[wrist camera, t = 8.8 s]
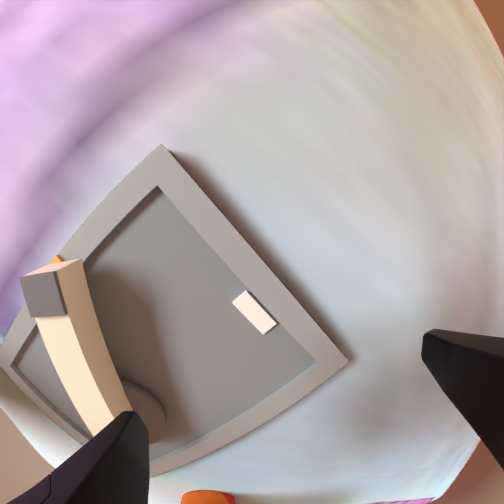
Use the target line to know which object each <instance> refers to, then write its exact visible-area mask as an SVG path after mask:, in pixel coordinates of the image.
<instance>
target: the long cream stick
mask: <svg viewBox="0 0 504 504" xmlns="http://www.w3.org/2000/svg"><path fill="white" fill-rule="evenodd" d="M19 279H20V283H21V286H22V290H23V294H24V297H25V300H26V304H27V307H28V310H29V313H30V316H31V318H32V317H35V320H36V323H37V325H38V328H39V331H40V333H41V336H42V339H43V341H44V344H45V346H46V349H47V351H48V353H49V356H50V358H51V360H52V363H53V365H54V367H55V369H56V371H57V373H58V375H59V377H60V379H61V382H62V383H63V385H64V387H65V389H66V391H67V393H68V395H69V397H70V399H71V400H72V402H73V404H74V406H75V408H76V409H77V411H78V413H79V414H80V416H81V418H82V419H83V421H84V423H85V424H86V426H87V427H88V429H89V430H90V432H91V433H92V435H93V436H95V435H96V434H98V433H99V432H100V431H101V430H102V429H103V428H104V427H106V426H107V425H108V424H109V423H110V422H111V421H112V420H114V419H115V418H116V417H117V416H118V415H119V414H120V413H121V412H123V411H136V412H137V413H138V414H139V416H140V417H141V419H142V421H143V422H144V424H145V425H146V427H147V429H148V431H149V445H151V444H154V443H156V442H158V441H159V440H160V439H161V438H162V437H163V435H164V432H165V427H166V421H167V417H166V412H165V410H164V408H163V406H162V404H161V403H160V402H159V401H158V399H157V398H156V397H155V396H154V395H152V394H151V393H150V392H149V391H147V390H146V389H144V388H143V387H141V386H139V385H137V384H135V383H133V382H130V381H127V380H124V379H119V377H118V375H117V372H116V370H115V367H114V365H113V362H112V360H111V357H110V355H109V352H108V349H107V347H106V344H105V341H104V338H103V335H102V332H101V329H100V326H99V323H98V320H97V317H96V314H95V310H94V307H93V303H92V300H91V296H90V293H89V289H88V285H87V281H86V277H85V273H84V269H83V264H82V259H75V260H69V261H64V262H58V263H53V264H48V265H46V266H44V267H42V268H39V269H37V270H35V271H33V272H31V273H29V274H26V275H24V276H22V277H20V278H19Z"/></svg>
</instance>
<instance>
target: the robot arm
mask: <svg viewBox="0 0 504 504" xmlns="http://www.w3.org/2000/svg"><path fill="white" fill-rule="evenodd" d="M421 356H422V360H423V362H424V363H425V365H426V366H427V368H428V369H429V371H430V372H431V374H432V375H433V377H434V378H435V380H436V381H437V383H438V384H439V386H440V387H441V389H442V390H443V392H444V393H445V394H446V395H447V397H448V398H449V399H450V400H451V402H452V403H453V404H454V405H455V407H456V408H457V409H458V410H459V412H460V413H461V414H462V415H463V417H464V418H465V419H466V420H467V422H468V423H469V424H470V426H471V427H472V428H473V429H474V431H475V432H476V433H477V435H478V436H479V437H480V439H481V440H482V441H483V443H484V444H485V445H486V447H487V448H488V449H489V451H490V452H491V454H492V455H493V456H494V458H495V459H496V461H497V462H498V463H499V465H500V466H501V468H502V469H503V471H504V338H501V337H492V336H484V335H476V334H468V333H461V332H454V331H447V330H440V329H432V330H430V331H428V332H426V333H425V334H424V336H423V343H422V352H421ZM149 479H150V461H149V431H148V429H147V427H146V425H145V424H144V422H143V421H142V419H141V417H140V416H139V414H138V413H137V412H136V411H123V412H121V413H120V414H119V415H118V416H117V417H116V418H115V419H114V420H112V421H111V422H110V423H109V424H108V425H107V426H106V427H104V428H103V429H102V430H101V431H100V432H99V433H98V434H96V435H95V436H94V437H93V438H92V439H91V440H89V441H88V442H87V443H86V444H85V445H84V446H82V447H81V448H80V449H79V450H78V451H77V452H75V453H74V454H73V455H72V456H71V457H69V458H68V459H67V460H66V461H65V462H64V463H62V464H61V465H60V466H59V467H57V468H56V469H55V470H54V471H53V472H51V474H49V475H48V476H46V477H45V478H44V479H43V480H42V481H40V482H39V483H38V484H36V485H35V486H34V487H32V488H31V489H29V490H28V491H26V492H25V493H23V494H22V495H20V496H18V497H17V498H15V499H13V500H12V501H10V502H8V503H7V504H148V491H149Z"/></svg>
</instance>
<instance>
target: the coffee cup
mask: <svg viewBox="0 0 504 504" xmlns="http://www.w3.org/2000/svg"><path fill="white" fill-rule="evenodd" d="M181 504H235V500H234V498H233V497H232V496H230V495H229V494H226V493H223V492H218V491H210V490H199V491H192V492H188V493H186V494H184V495H183V497H182V501H181Z"/></svg>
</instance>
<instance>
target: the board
mask: <svg viewBox="0 0 504 504" xmlns="http://www.w3.org/2000/svg"><path fill="white" fill-rule="evenodd" d="M75 259H82V264H83V269H84V273H85V277H86V281H87V285H88V289H89V293H90V296H91V300H92V303H93V307H94V310H95V314H96V317H97V320H98V323H99V326H100V329H101V332H102V335H103V338H104V341H105V344H106V347H107V349H108V352H109V355H110V357H111V360H112V362H113V365H114V367H115V370H116V372H117V375H118V377H119V379H124V380H127V381H130V382H133V383H135V384H137V385H139V386H141V387H143V388H144V389H146V390H147V391H149V392H150V393H151V394H152V395H154V396H155V397H156V398H157V399H158V401H159V402H160V403H161V404H162V406H163V408H164V410H165V412H166V417H167V421H166V427H165V432H164V435H163V437H162V438H161V439H160V440H159V441H158V442H156V443H154V444H151V445H149V461H150V478H152V477H155V476H157V475H160V474H163V473H165V472H168V471H170V470H173V469H175V468H177V467H180V466H182V465H185V464H187V463H189V462H191V461H194V460H196V459H198V458H200V457H202V456H204V455H206V454H208V453H210V452H213V451H215V450H217V449H219V448H220V447H222V446H224V445H226V444H228V443H230V442H232V441H234V440H236V439H237V438H239V437H241V436H243V435H245V434H246V433H248V432H250V431H252V430H253V429H255V428H257V427H258V426H260V425H262V424H263V423H265V422H267V421H268V420H270V419H271V418H273V417H275V416H276V415H278V414H279V413H281V412H282V411H284V410H285V409H287V408H288V407H290V406H291V405H293V404H294V403H296V402H297V401H299V400H300V399H301V398H303V397H304V396H306V395H307V394H309V393H310V392H311V391H313V390H314V389H315V388H317V387H318V386H319V385H321V384H322V383H323V382H325V381H326V380H327V379H329V378H330V377H331V376H332V375H334V374H335V373H336V372H338V371H339V370H340V369H341V368H342V367H344V366H345V365H346V364H347V363H349V361H348V360H347V359H346V357H345V356H344V355H343V354H342V352H341V351H340V350H339V349H338V348H337V346H336V345H335V344H334V343H333V342H332V340H331V339H330V338H329V337H328V336H327V335H326V333H325V332H324V331H323V330H322V329H321V328H320V326H319V325H318V324H317V323H316V322H315V321H314V319H313V318H312V317H311V316H310V315H309V314H308V312H307V311H306V310H305V309H304V308H303V307H302V305H301V304H300V303H299V302H298V301H297V300H296V298H295V297H294V296H293V295H292V294H291V293H290V291H289V290H288V289H287V288H286V287H285V285H284V284H283V283H282V282H281V281H280V280H279V278H278V277H277V276H276V275H275V274H274V273H273V271H272V270H271V269H270V268H269V267H268V266H267V265H266V263H265V262H264V261H263V260H262V259H261V258H260V256H259V255H258V254H257V253H256V252H255V251H254V249H253V248H252V247H251V246H250V245H249V244H248V242H247V241H246V240H245V239H244V238H243V237H242V235H241V234H240V233H239V232H238V231H237V230H236V228H235V227H234V226H233V225H232V224H231V223H230V221H229V220H228V219H227V218H226V217H225V216H224V214H223V213H222V212H221V211H220V210H219V209H218V208H217V206H216V205H215V204H214V203H213V202H212V201H211V199H210V198H209V197H208V196H207V195H206V194H205V192H204V191H203V190H202V189H201V188H200V187H199V185H198V184H197V183H196V182H195V181H194V180H193V179H192V177H191V176H190V175H189V174H188V173H187V172H186V170H185V169H184V168H183V167H182V166H181V165H180V164H179V162H178V161H177V160H176V159H175V158H174V157H173V155H172V154H171V153H170V152H169V151H168V150H167V149H166V148H165V147H164V146H163V145H162V144H160V145H159V146H158V147H157V148H156V149H155V150H154V151H153V152H151V153H150V154H149V155H148V156H147V157H146V158H145V159H144V160H143V161H142V162H141V163H140V164H138V165H137V166H136V167H135V168H134V169H133V170H132V171H131V172H130V173H129V174H128V175H127V176H126V177H125V178H124V179H123V180H122V181H121V182H120V183H119V184H118V185H117V186H116V187H115V188H114V189H113V190H112V191H111V192H110V194H109V195H108V196H107V197H106V198H105V199H104V200H103V201H102V202H101V203H100V204H99V205H98V207H97V208H96V209H95V210H94V211H93V212H92V213H91V214H90V216H89V217H88V218H87V219H86V220H85V221H84V223H83V224H82V225H81V226H80V227H79V229H78V230H77V231H76V232H75V233H74V235H73V236H72V237H71V238H70V240H69V241H68V242H67V243H66V245H65V246H64V247H63V249H62V250H61V251H60V252H59V254H58V255H57V256H56V257H55V258H54V259H53V261H52V262H51V264H53V263H58V262H64V261H69V260H75ZM0 367H1V368H2V369H3V370H4V371H5V373H6V374H7V375H8V376H9V377H10V378H11V380H12V381H13V382H14V383H15V384H16V385H17V386H18V387H19V388H20V389H21V391H22V392H23V393H24V394H25V395H26V396H27V397H28V398H29V399H30V400H31V401H32V402H33V403H34V404H35V405H36V406H37V407H38V408H39V409H40V410H41V411H43V412H44V413H45V414H46V415H47V416H48V417H49V418H50V419H51V420H52V421H54V422H55V423H56V424H57V425H58V426H59V427H61V428H62V429H63V430H64V431H65V432H67V433H68V434H69V435H70V436H72V437H73V438H74V439H76V440H77V441H78V442H79V443H81V444H82V445H83V446H84V445H85V444H86V443H87V442H88V441H89V440H91V439H92V438H93V437H94V436H93V435H92V433H91V432H90V430H89V429H88V427H87V426H86V424H85V423H84V421H83V419H82V418H81V416H80V414H79V413H78V411H77V409H76V408H75V406H74V404H73V402H72V400H71V399H70V397H69V395H68V393H67V391H66V389H65V387H64V385H63V383H62V382H61V379H60V377H59V375H58V373H57V371H56V369H55V367H54V365H53V363H52V360H51V358H50V356H49V353H48V351H47V349H46V346H45V344H44V341H43V339H42V336H41V333H40V331H39V328H38V325H37V323H36V320H35V317H32V318H31V316H30V313H29V310H28V307H27V304H26V302H25V304H24V305H23V307H22V309H21V310H20V312H19V314H18V315H17V317H16V319H15V321H14V323H13V324H12V326H11V328H10V330H9V332H8V334H7V335H6V337H5V339H4V341H3V343H2V345H1V347H0Z"/></svg>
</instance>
